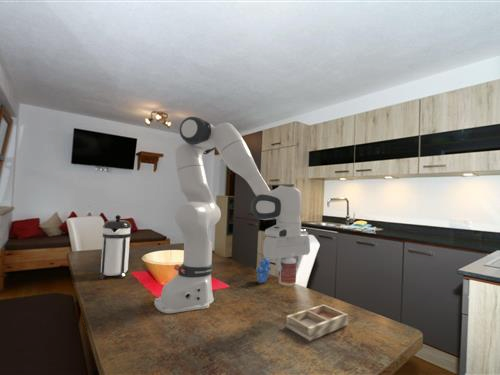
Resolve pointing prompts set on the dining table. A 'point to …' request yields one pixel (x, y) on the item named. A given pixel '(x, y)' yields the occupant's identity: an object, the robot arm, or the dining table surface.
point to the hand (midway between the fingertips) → (287, 269)
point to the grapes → (263, 270)
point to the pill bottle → (288, 270)
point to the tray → (316, 321)
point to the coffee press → (115, 248)
